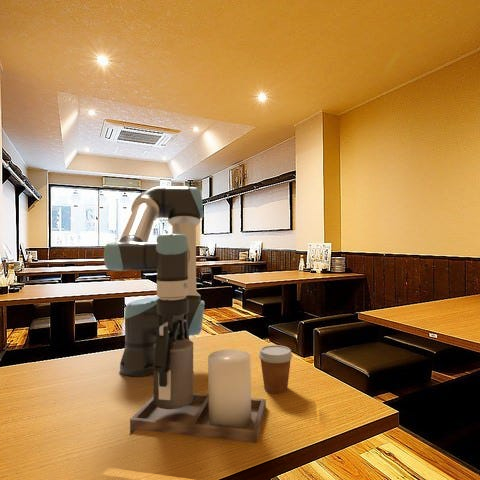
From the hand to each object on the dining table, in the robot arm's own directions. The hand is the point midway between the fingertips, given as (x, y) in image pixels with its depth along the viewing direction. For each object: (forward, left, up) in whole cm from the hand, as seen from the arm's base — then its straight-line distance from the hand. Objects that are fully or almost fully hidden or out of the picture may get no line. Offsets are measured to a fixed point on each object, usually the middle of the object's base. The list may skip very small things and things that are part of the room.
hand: (173, 389), depth 82 cm
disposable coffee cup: (+23, +19, -7) cm, 30 cm away
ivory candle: (+14, 0, -6) cm, 15 cm away
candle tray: (+7, 0, -7) cm, 10 cm away
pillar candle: (0, 0, -3) cm, 3 cm away
